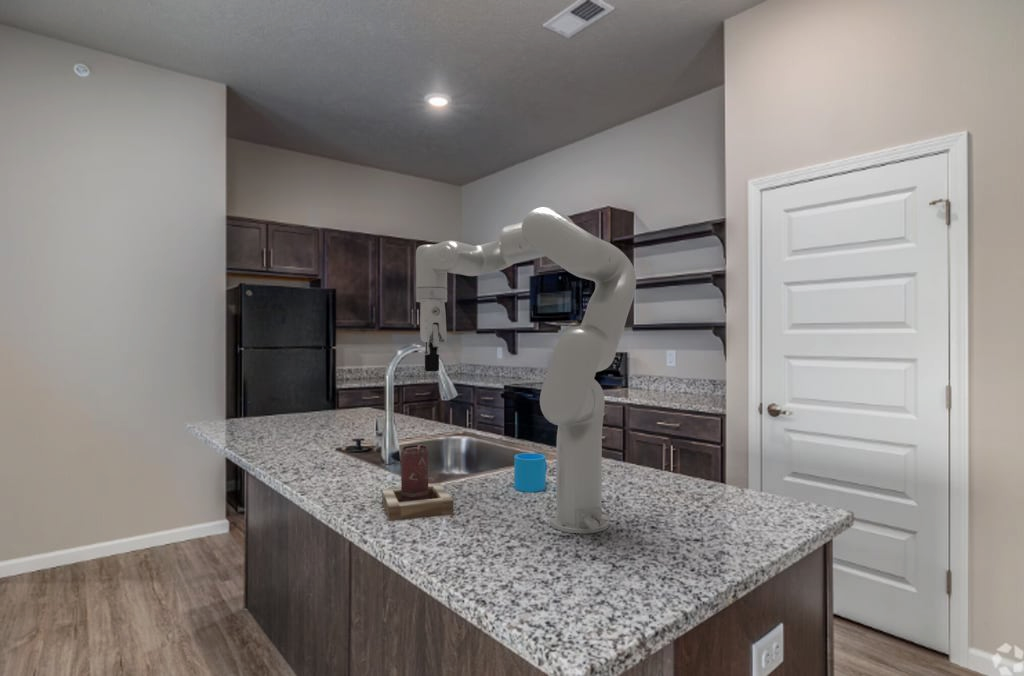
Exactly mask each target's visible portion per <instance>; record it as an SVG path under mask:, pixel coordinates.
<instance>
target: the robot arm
mask: <svg viewBox="0 0 1024 676" xmlns="http://www.w3.org/2000/svg"><path fill="white" fill-rule="evenodd" d="M545 257H546V258H547V259H549V260H550V261H552V262H553V263H555V264H556V265H558V266H559V267H560V268H562V269H564V270H565V271H567V272H568V273H570V274H572V275H573V276H575V277H576V278H577V277H578V278H580V279H585V280H589V281H593V282H594V283H595V289H594V292H593V293H592V295H591V296H590V298H589V300H588V303H587V306H586V309H585V313H584V315H583V319H582V321H581V324H580V325H578V326H573V327H571V328H568V329H567V330H565V332H564V333H563V334H562V335H561V336H560V337H559V339H558V340H557V342H556V343H555V346H554V349H553V352H552V354H551V358H550V362H549V363H548V364H549V365H548V368H547V370H546V374H545V378H544V380H543V383H542V386H541V390H540V393H539V394H540V396H539V406H540V410H541V413H542V415H543V416H544V418H545V420H547V421H548V422H549V423H551V424H552V425H555V426H557V430H556V512H554V513H552V514H551V515H550V516H549V518H548V519H549V521H548V522H549V525H550V527H552V528H554V529H556V530H558V531H560V532H563V533H567V532H568V534H574V533H576V534H577V533H579V534H577V535H588V534H590V533H591V534H597V533H600V532H603V531H606V530H607V529H608V528H609V527H610V519H609V517H608V516H607V515H605V514H603V513H602V512H603V507H602V505H603V504H602V503H603V499H602V498H603V497H602V496H603V494H602V493H603V491H602V490H603V488H602V487H603V485H602V482H603V481H602V479H603V478H602V477H603V475H602V473H603V472H602V471H603V470H602V468H603V466H602V464H603V461H602V457H603V456H602V453H603V450H602V449H603V448H602V446H603V445H602V444H603V440H602V439H603V421H604V415H605V404H606V403H605V402H606V400H605V393H604V390H603V388H602V386H601V385H600V383H599V382H598V381H597V380H596V379H595V377H596V373H599V372H602V371H605V370H607V368H610V366H611V365H612V364H613V362H614V360H615V357H616V354H617V351H618V347H619V344H620V341H621V339H622V335H623V333H624V330H625V329H624V328H625V326H626V322H627V318H628V315H629V313H630V310H631V306H632V304H633V300H634V298H635V297H634V296H635V294H636V289H637V275H636V271H635V268H634V265H633V263H632V262H631V260H630V259H629V257H627V255H626V254H625V253H624V252H623V251H622V250H621V249H620V248H619V247H617V246H615V245H613V244H612V243H610V242H608V241H606V240H604V239H602V238H599V237H597V236H596V235H593V234H592V233H590V232H588V231H586V230H585V229H583V228H581V227H580V226H578V225H577V224H576V223H574V221H573V220H572V219H571V218H570V217H569V216H568V215H566V214H564V213H562V212H560V211H558V210H556V209H554V208H553V207H550V206H549V207H548V206H539V207H536V208H534V209H532V210H530V211H529V212H528V213H527V214H526V215H525V217H524V218H523V221H521V222H518V223H514V224H509V225H506V226H503V227H502V228H501V229H500V231H499V235H498V239H496V240H493V241H491V242H487V243H483V244H478V245H472V244H469V243H465V242H460V241H457V240H452V239H451V240H445V241H441V242H439V243H435V244H433V243H432V244H429V243H428V244H422V245H419V246H418V247H417V248H416V251H415V299H416V300H415V302H416V303H420V307H419V308H420V310H419V312H420V313H419V314H420V315H419V324H420V325H419V328H420V329H419V331H420V332H419V333H420V334H419V335H420V340H421V341H422V342H423V343H424V371H426V372H438V371H440V355H439V352H440V343H444V342H446V341H447V337H448V336H447V335H448V334H447V316H446V315H447V314H446V306H445V303H448V273H450V274H453V275H454V274H455V275H462V276H465V277H466V276H467V277H476V276H483V275H487V274H492V273H496V272H499V271H502V270H505V269H507V268H509V267H512V265H514V264H518V263H523V262H526V261H531V260H536V259H540V258H545ZM576 534H575V535H576Z"/></svg>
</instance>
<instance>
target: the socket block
mask: <svg viewBox="0 0 1024 676" xmlns="http://www.w3.org/2000/svg"><path fill="white" fill-rule="evenodd" d="M381 494H382V495H381V497H382V498H381V499H382V500H381V502H382V506H383V508H384V511H385V514H386V517H387V519H388V521H391V522H393V521H402V520H411V519H422V518H430V517H441V516H450V515H452V516H453V515H454V498H453V497H452V496H451V495H450V494H449V493H448V491H447V490H446V489H445V488H444V486H443V485H442V484H441V483H433V484H428V499H426V500H416V501H406V502H401V487H391V488H382V489H381Z"/></svg>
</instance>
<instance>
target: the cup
mask: <svg viewBox="0 0 1024 676" xmlns="http://www.w3.org/2000/svg"><path fill="white" fill-rule="evenodd" d="M400 457H401V459H400V463H401V467H400V470H401V471H400V473H401V474H400V475H401V476H400V477H401V478H400V479H401V483H400V484H401V502H406V501H416V500H426V499H428V485H429V451H428V448H427V446H426V445H422V444H418V445H417V444H416V445H415V444H413V445H407V446H404V447H402V450H401V451H400Z"/></svg>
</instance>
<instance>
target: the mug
mask: <svg viewBox="0 0 1024 676" xmlns="http://www.w3.org/2000/svg"><path fill="white" fill-rule="evenodd" d="M546 457H547V456H546V455H545V454H541V453H536V452H533V453H532V452H524V453H518V454H517V453H516V454H515V455H514V457H513V458H514V459H513V461H514V469H513V470H514V472H513V473H514V477H513V478H514V479H513V481H514V483H513V484H514V486H513V487H514V489H515V490H517V491H518V492H519V491H520V492H525V493H526V492H527V493H528V492H529V493H535V492H541V491H545V489H546V484H547V483H546V482H547V481H546V475H547V469H548V465H547V463H548V462H547V461H546Z"/></svg>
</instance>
